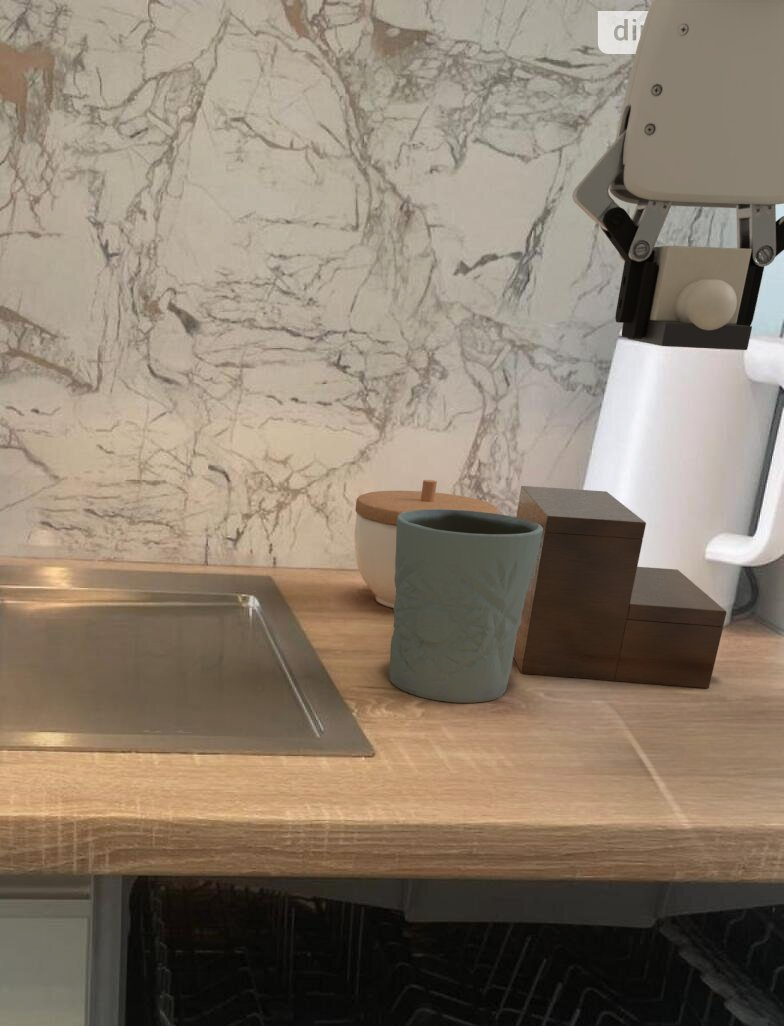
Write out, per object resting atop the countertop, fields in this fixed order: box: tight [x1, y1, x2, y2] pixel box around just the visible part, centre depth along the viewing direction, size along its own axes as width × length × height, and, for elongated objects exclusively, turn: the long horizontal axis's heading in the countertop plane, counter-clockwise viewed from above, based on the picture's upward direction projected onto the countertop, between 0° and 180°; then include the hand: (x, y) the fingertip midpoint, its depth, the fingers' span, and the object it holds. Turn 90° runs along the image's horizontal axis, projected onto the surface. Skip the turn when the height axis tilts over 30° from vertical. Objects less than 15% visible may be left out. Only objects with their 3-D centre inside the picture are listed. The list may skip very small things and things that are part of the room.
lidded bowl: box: [354, 479, 500, 609], centre depth 108 cm, size 13×13×11 cm
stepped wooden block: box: [513, 485, 728, 689], centre depth 95 cm, size 14×14×12 cm
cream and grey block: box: [627, 245, 753, 351], centre depth 66 cm, size 9×4×5 cm, turn 174°
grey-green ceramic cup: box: [389, 509, 543, 704], centre depth 86 cm, size 10×10×12 cm
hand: (679, 336), depth 69 cm, fingers closed on cream and grey block, 4 cm apart
